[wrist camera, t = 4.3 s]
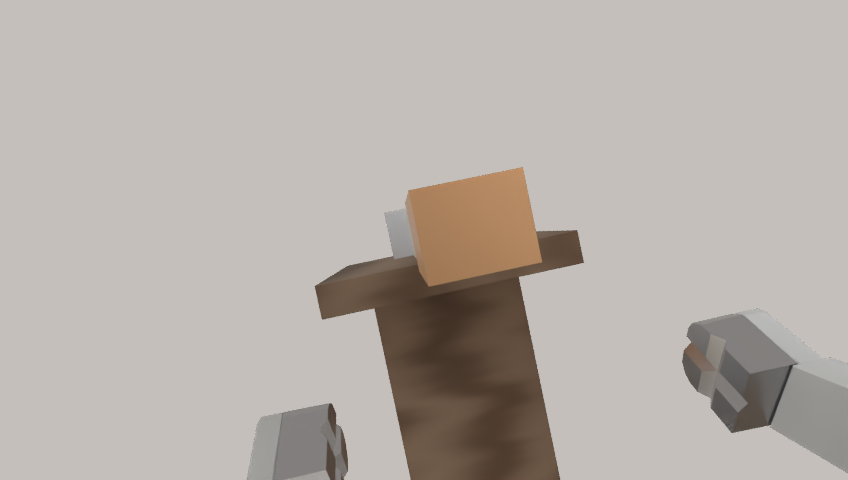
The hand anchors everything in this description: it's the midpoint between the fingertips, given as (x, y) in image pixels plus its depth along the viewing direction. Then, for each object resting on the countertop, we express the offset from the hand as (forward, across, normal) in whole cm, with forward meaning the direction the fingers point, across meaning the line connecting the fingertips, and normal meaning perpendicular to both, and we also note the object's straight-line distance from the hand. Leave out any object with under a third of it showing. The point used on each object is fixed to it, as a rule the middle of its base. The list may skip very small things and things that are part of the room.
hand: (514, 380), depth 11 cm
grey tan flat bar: (+12, 0, +5) cm, 13 cm away
